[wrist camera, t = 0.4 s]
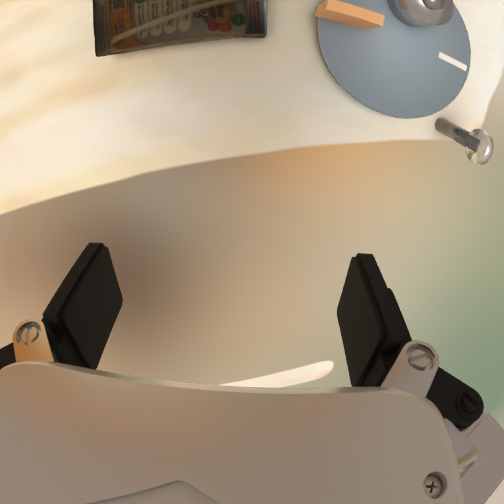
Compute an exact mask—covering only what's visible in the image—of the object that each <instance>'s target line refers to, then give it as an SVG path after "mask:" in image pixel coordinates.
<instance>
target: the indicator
mask: <svg viewBox="0 0 504 504" xmlns="http://www.w3.org/2000/svg"><path fill="white" fill-rule="evenodd" d="M435 127H436V129H437V130H438V131H439V132H441V133H443V134H444V135H446V136H448V137H450V138H451V139H453V140H455V141H456V142H458V143H460V144H461V145H463V146H464V147H466V154H467V157H468V159H469V160H470V161H472V162H474V163H477V164H480V165H483V164H486V163H487V162H488V161H489V160H490V158H491V156H492V154H493V148H494V145H493V140H492V137H491V136H490V134H488V133H487V132H485V131H483V130H481V129H474V130H473V131H472V132H471V133H470V132H468V131H466V130H465V129H463V128H461V127H459V126H457V125H455V124H453V123H451V122H449V121H447V120H445V119H443V118H439V119H437V120H436V122H435Z"/></svg>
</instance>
